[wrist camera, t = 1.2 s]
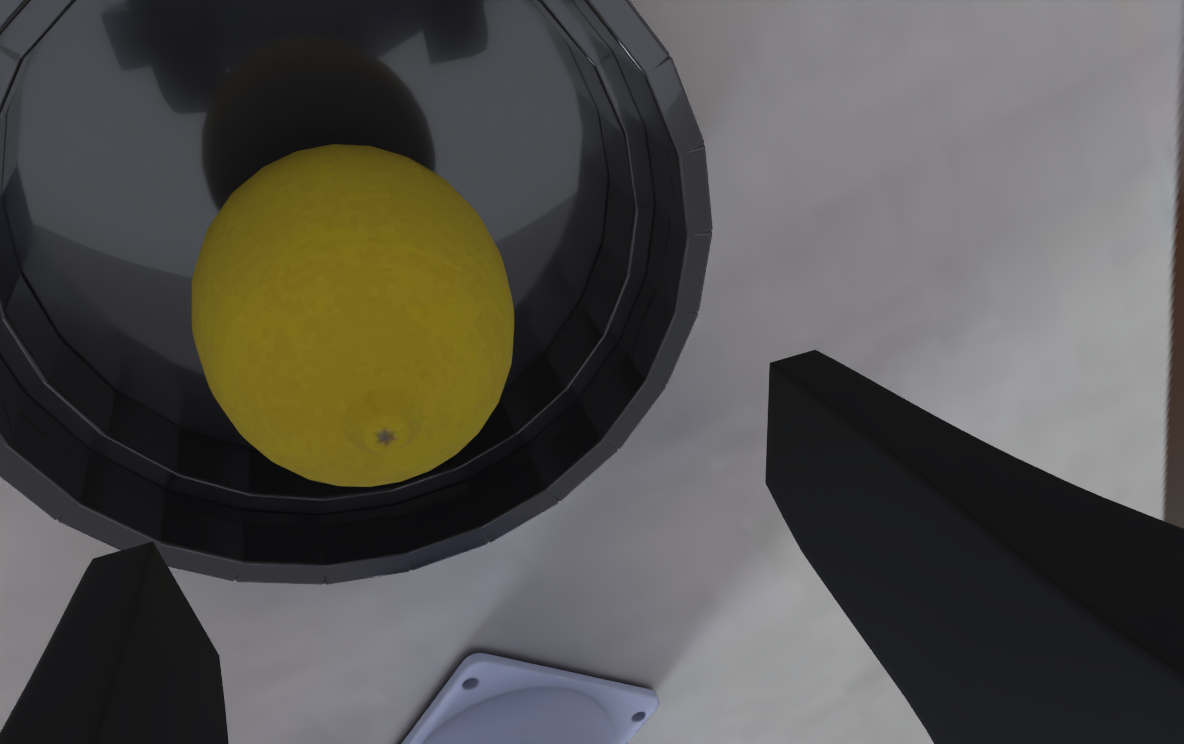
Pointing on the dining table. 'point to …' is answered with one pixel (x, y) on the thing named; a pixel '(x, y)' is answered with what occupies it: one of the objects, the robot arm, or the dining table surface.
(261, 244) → the lemon
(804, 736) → the dining table surface
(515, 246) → the pan
